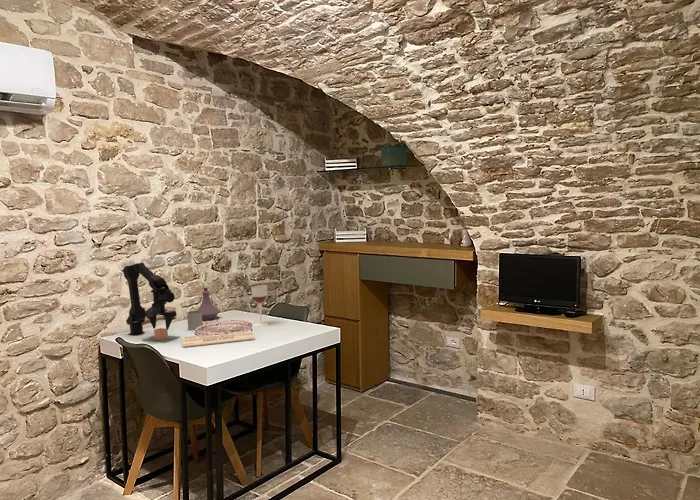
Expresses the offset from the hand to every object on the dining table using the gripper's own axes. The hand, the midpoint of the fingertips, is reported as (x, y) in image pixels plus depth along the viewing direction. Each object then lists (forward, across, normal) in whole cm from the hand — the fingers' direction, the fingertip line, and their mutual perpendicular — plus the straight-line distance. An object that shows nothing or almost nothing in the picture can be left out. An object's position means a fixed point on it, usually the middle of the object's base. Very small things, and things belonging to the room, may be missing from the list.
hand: (160, 329), depth 304 cm
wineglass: (+6, +35, +46) cm, 58 cm away
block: (+5, 0, 0) cm, 5 cm away
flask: (+6, -8, +50) cm, 51 cm away
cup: (+6, +3, +25) cm, 26 cm away
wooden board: (+6, +34, +6) cm, 35 cm away
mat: (+6, 0, 0) cm, 6 cm away
